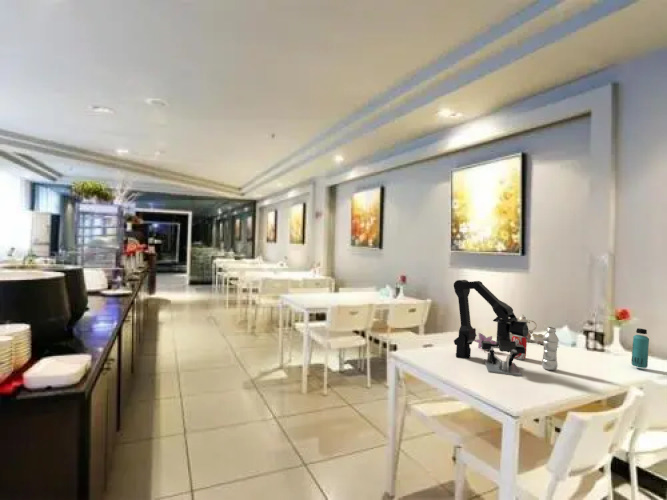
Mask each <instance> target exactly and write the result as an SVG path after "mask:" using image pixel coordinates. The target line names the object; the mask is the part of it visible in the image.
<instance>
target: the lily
mask: <svg viewBox="0 0 667 500" xmlns="http://www.w3.org/2000/svg"><path fill="white" fill-rule="evenodd" d="M482 341H490V343H491V344H496V340H493V336H491V335H490V336H485V335H484V334H483V333H480V332H478V339H475V340H474V341H473V342H475V343H477V344H478V345H477V348H478V349H480V348H481V349H482V347H481V342H482ZM483 350H484V353H486V349H483Z"/></svg>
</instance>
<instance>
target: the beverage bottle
mask: <svg viewBox="0 0 667 500" xmlns="http://www.w3.org/2000/svg"><path fill="white" fill-rule="evenodd" d="M635 332H636V333H637V334H635V335H634V336H633V337H632V339H633V340H632V349H631V351H632V352H631V362H630V363H631V365H632V366H633V367H636V368H642V369H647V368H648V366H649V364H648V363H649V348H650V347H649V346H650V345H649V344H650V338H649V337H648V336H646V335H647V334H648V330H647V329H645V328H639V327H638V328H636V331H635Z"/></svg>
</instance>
